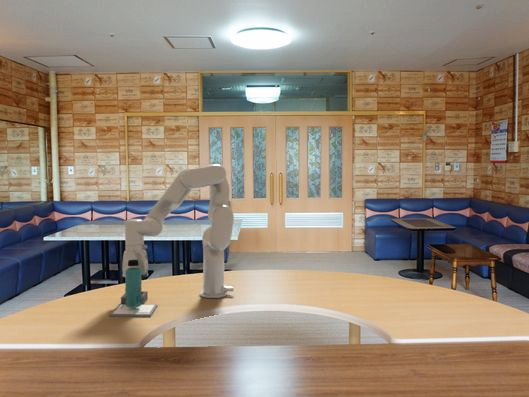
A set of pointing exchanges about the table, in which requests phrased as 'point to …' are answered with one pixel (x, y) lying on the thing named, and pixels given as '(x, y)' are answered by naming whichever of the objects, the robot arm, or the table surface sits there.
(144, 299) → the button housing
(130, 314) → the drawing board
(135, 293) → the beverage bottle
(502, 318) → the table surface
